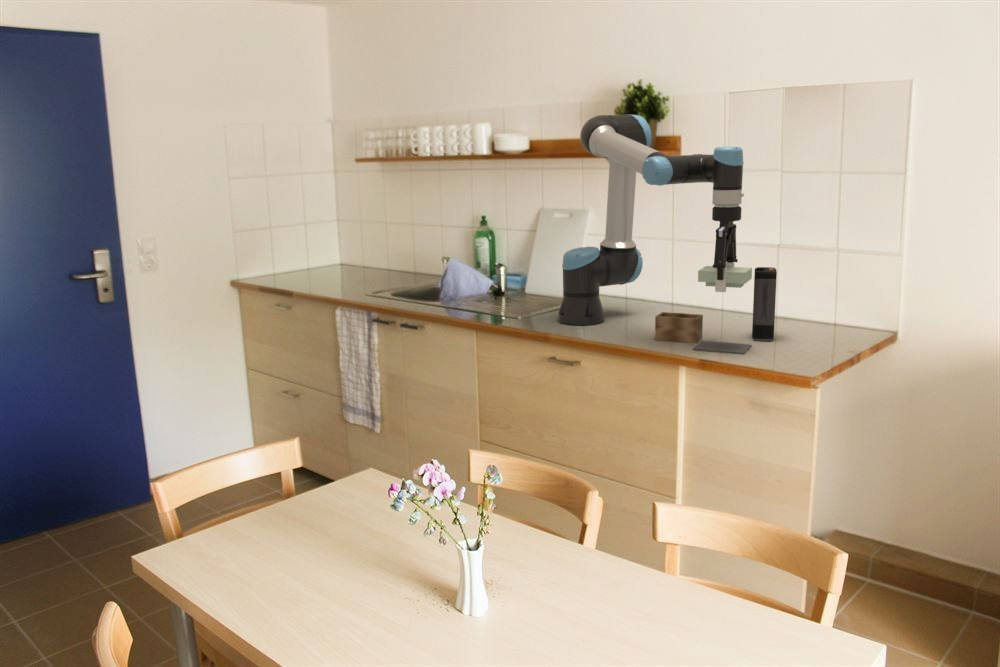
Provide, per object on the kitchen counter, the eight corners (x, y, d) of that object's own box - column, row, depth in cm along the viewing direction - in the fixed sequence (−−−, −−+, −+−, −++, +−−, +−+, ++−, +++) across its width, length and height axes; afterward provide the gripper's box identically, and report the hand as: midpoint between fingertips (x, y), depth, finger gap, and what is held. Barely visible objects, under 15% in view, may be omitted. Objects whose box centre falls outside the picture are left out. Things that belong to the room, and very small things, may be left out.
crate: (655, 340, 246) (655, 316, 244) (662, 334, 252) (662, 311, 250) (696, 343, 240) (696, 319, 239) (702, 338, 247) (702, 314, 245)
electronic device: (752, 333, 250) (754, 266, 246) (773, 334, 248) (776, 267, 244) (751, 341, 241) (754, 271, 237) (773, 341, 240) (776, 272, 235)
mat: (692, 349, 234) (692, 348, 233) (701, 341, 242) (701, 340, 242) (744, 354, 227) (744, 352, 227) (751, 345, 236) (751, 344, 236)
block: (697, 287, 230) (698, 270, 229) (705, 281, 237) (706, 266, 236) (744, 289, 224) (745, 272, 223) (751, 284, 232) (752, 267, 231)
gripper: (732, 209, 215) (729, 296, 220) (749, 202, 234) (746, 283, 239) (702, 208, 218) (701, 294, 223) (722, 202, 237) (719, 281, 242)
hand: (724, 288), depth 231 cm, fingers closed on block, 9 cm apart
